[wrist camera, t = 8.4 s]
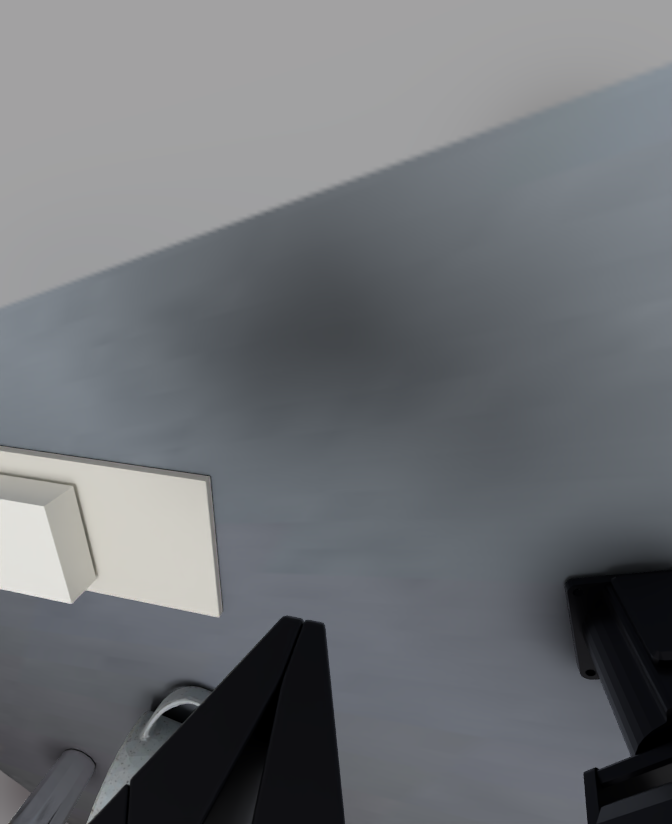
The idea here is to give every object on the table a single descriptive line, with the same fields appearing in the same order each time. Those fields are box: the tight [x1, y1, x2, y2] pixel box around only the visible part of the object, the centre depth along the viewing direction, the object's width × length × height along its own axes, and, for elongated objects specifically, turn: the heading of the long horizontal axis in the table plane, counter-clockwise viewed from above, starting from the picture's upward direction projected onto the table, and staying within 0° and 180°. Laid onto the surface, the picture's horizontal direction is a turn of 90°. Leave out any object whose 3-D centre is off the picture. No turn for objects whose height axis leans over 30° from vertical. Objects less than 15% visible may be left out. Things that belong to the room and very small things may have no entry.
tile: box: [0, 474, 96, 604], centre depth 25 cm, size 2×7×9 cm
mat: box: [0, 446, 223, 617], centre depth 26 cm, size 20×10×1 cm, turn 88°
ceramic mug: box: [87, 686, 211, 824], centre depth 28 cm, size 11×8×8 cm
